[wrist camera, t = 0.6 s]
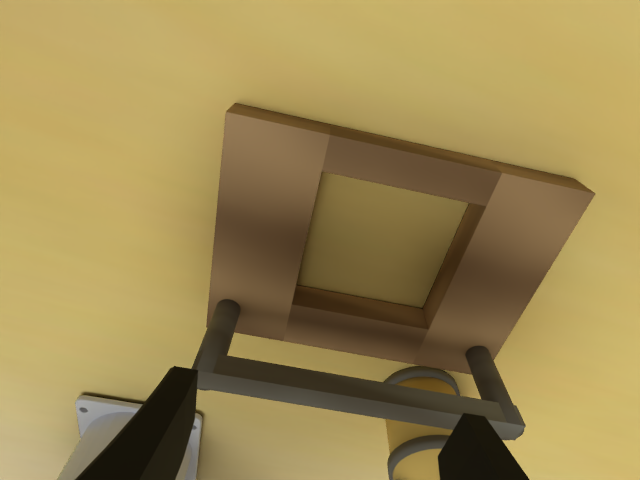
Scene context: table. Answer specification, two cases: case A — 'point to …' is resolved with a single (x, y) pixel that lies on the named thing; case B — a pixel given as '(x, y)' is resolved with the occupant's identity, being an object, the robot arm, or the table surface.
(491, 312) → the brown piece
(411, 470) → the cord reel
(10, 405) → the table surface
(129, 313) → the table surface
